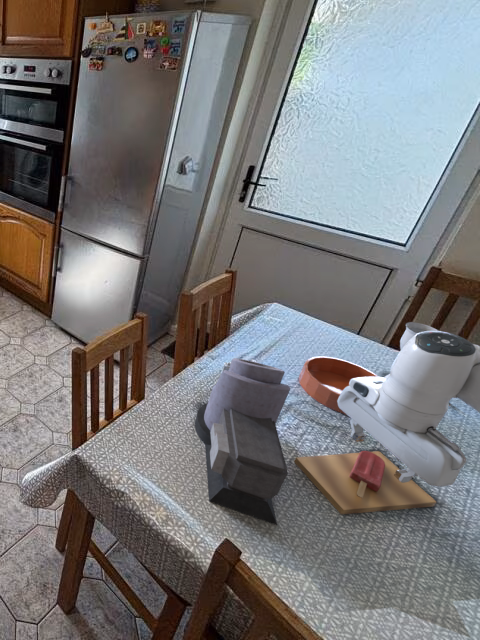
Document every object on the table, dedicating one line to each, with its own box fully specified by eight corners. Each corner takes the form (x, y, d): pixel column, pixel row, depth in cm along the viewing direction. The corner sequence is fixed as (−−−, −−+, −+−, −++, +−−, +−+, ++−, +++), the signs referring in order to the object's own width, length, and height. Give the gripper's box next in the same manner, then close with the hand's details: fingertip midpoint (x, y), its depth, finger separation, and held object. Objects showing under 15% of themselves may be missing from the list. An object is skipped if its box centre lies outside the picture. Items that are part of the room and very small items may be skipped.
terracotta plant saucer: (341, 368, 120) (348, 354, 118) (404, 416, 104) (413, 401, 102) (283, 371, 119) (288, 358, 117) (337, 420, 103) (345, 406, 101)
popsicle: (346, 485, 84) (361, 446, 93) (343, 491, 85) (358, 451, 93) (376, 502, 81) (388, 459, 89) (372, 507, 81) (385, 464, 90)
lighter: (220, 377, 117) (227, 355, 114) (220, 373, 119) (228, 351, 115) (249, 386, 114) (258, 363, 110) (249, 382, 115) (258, 360, 112)
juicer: (193, 399, 110) (215, 323, 99) (264, 418, 104) (296, 340, 93) (197, 497, 85) (228, 410, 75) (290, 530, 79) (337, 440, 69)
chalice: (419, 394, 111) (452, 339, 103) (390, 391, 112) (420, 337, 104) (397, 375, 117) (427, 323, 109) (370, 373, 118) (398, 321, 110)
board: (376, 455, 94) (379, 450, 93) (433, 506, 83) (437, 502, 82) (293, 461, 93) (295, 457, 92) (340, 514, 82) (343, 509, 81)
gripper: (487, 453, 69) (448, 506, 75) (371, 371, 88) (347, 418, 94) (452, 456, 69) (416, 509, 75) (343, 373, 87) (321, 420, 93)
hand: (377, 458), depth 84 cm, fingers open, 8 cm apart
